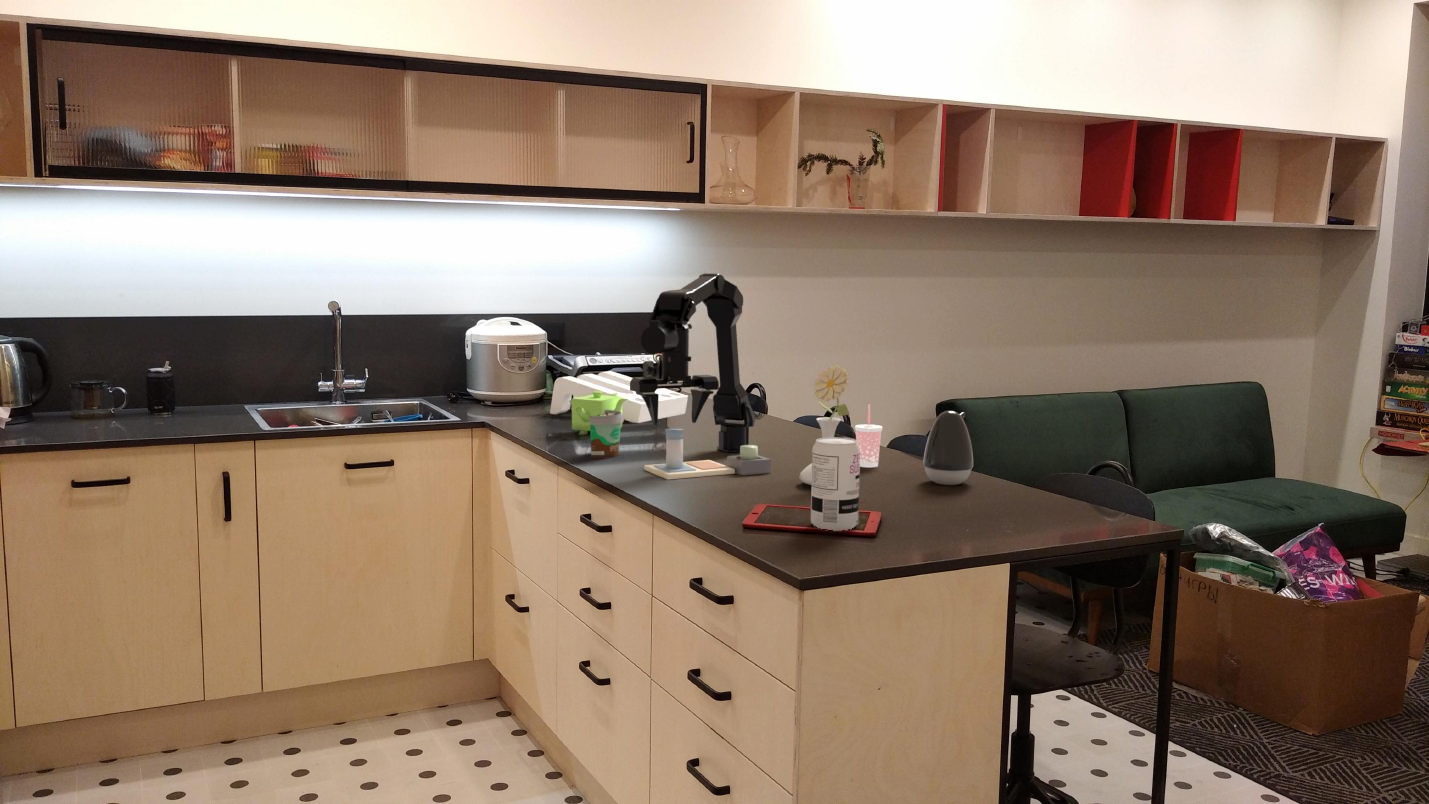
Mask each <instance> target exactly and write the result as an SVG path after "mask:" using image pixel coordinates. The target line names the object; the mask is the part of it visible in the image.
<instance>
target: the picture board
mask: <svg viewBox="0 0 1429 804" xmlns="http://www.w3.org/2000/svg"><path fill="white" fill-rule="evenodd" d="M643 466H644V471H647V472H649V473H651V474H653V475H656V476H658V477H661V478H663V479H666V480H675V479H676V480H677V479H678V480H679V479H690V478H698V477H699V478H700V477H711V476H721V475H722V476H723V475H733V474H736V473H735V469H733V468H731V467H728V466H727V465H725V464H723V463H720V462H716V461H714V460H711V459H704V460H702V459H701V460H692V461H683V468H680V469H669V468H666V462H665V463H655V464H645V465H643Z"/></svg>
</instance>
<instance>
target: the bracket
mask: <svg viewBox="0 0 1429 804" xmlns="http://www.w3.org/2000/svg"><path fill="white" fill-rule="evenodd" d="M632 378H633V377H630V376H628V375H624V374H621V373H617V372H615V371H612V370H608V371H602V372H599V373H598V374H594V373H585V374H579V375H578V376H576V377H574V376H572V375H571V376H570V375H569V376H568V375H567V376H562V377H557V378H556V380H555V381H554V384H553V390H552V396H551V397H552V398H551V404H550V409H549V410H550V411H549V414H551V415H558V414H565V413H566V412H568V411H569V410H570V409H571V411H572V408H571V404H570V402H569V401H571V400H572V399H573V398H578V397H583V396H589V395H593V393H592V392H594V391H600V392H602V395H607V396H611V395H612V394H613V393H618V394H617V396H620V397H622V399H628V400H626V401H625V402H624V403H623V404H622V415H623V420H624V421H626V422H627V421H628V422H629V423H635V424H640V423H645V422H649V421H651V422H652V419H651V417H650V414H649V411H648V408H647V405H646V403H645V401H644V399H643V398H642V397H641V395H637V394H636V392H635V391H631V390H630V381H631V380H632ZM655 393H656V394H659V400H658V420H660V419H665V418H671V417H676V416H681V415H685V414H686V411H687V405H688V398H689V395H687V394H686V395H685V394H683V393H680V392H677V391H674V390H671V389H669V388H661V389H657V390H656V391H655ZM572 396H573V397H572Z"/></svg>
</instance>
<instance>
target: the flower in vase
mask: <svg viewBox="0 0 1429 804" xmlns="http://www.w3.org/2000/svg"><path fill="white" fill-rule="evenodd" d="M848 385H849V373H848V372H847V370H846V369H845V368H842V367H841V366H839V365H835V366H834V367H833V366H829V367H828V368H827V369H823V370H822V373H819V374H818V375H817V379H815V381H814V386H813V387H814V388H813V390H814V391H815V392H814V393H813V394H814V396H815V397H816V398H817V399H818V403H819V406H820V407H822V408H823V409H825V410H826V411H828V412H829V413H831V415H830V417H827V416H825V417H817V418H816V421H817V423H818V425H819V427H820V430H821V438H828V437H835V433H836V430H837V426H838V425H839V423H840V422H841V420H842V419H841V418H838V417H834V415H835V414H836V413H837V416H839V417H843V416H847V415H851V414H850V411H849V409H848V407H847V405H846V403H842V404H840V401H839V397H841V396H842V393H844V392H845V389H846V387H848ZM831 399H832V400H833V401H834V400H836V407H835V409H834V410H832V409H831V408H829V407H827V406H826V405H825V404H823V403H826V402H830V401H831ZM822 402H823V403H822ZM839 404H840V405H839ZM798 477H799V479H800V481H801V482H803V483H805V485H806V484H807V485H810V486H812V462H811V463H809V465H807V466H806V467H805V468H803V470H802V471H800V474H799V476H798Z"/></svg>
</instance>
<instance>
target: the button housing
mask: <svg viewBox="0 0 1429 804" xmlns="http://www.w3.org/2000/svg"><path fill="white" fill-rule="evenodd" d="M726 459H727V460H726V466H728V467H731V468H733V469H735V474H737V475H740V476H752V475H763V474H771V473H772V472H771V470H772V469H771V468H772V467H771V466H772V459H771V458H768V457H764V456H762V455H759V454H758V459H754V460H743V459H740V454H739V455H728V456H726Z"/></svg>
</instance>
